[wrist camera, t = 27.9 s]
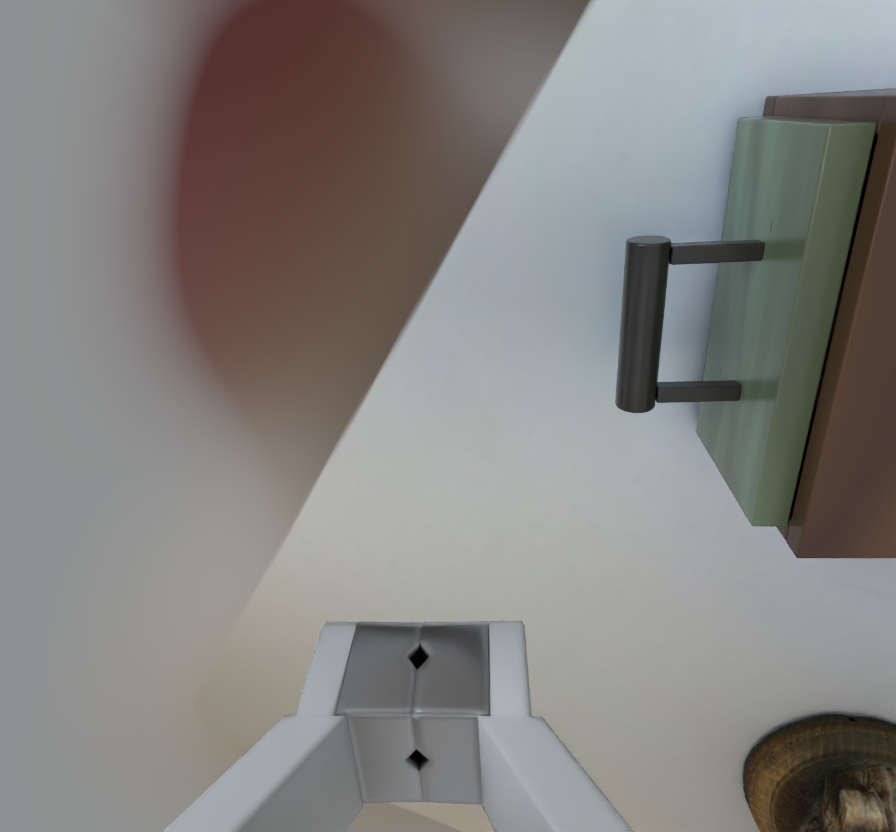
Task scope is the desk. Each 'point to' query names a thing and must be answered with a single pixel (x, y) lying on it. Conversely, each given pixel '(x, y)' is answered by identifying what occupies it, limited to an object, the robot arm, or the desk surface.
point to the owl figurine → (824, 777)
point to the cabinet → (855, 363)
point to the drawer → (757, 302)
